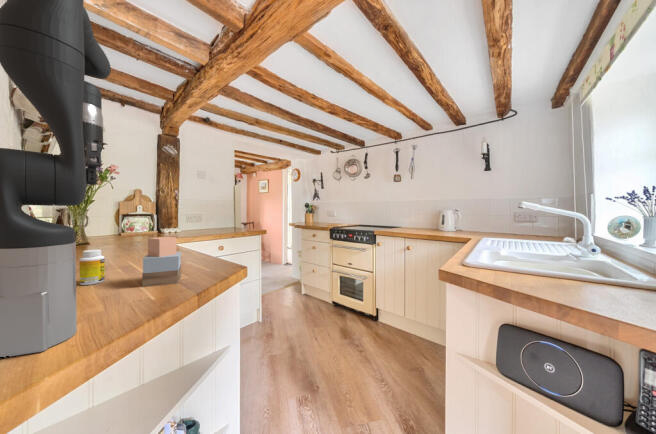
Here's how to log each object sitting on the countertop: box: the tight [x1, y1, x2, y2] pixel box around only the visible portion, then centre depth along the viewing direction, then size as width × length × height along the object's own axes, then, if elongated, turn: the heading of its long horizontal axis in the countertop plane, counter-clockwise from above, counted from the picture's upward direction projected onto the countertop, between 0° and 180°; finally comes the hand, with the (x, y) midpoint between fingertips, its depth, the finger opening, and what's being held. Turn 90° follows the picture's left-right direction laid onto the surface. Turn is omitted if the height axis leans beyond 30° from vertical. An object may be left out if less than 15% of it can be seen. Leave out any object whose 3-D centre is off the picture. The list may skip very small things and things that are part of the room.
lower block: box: [141, 264, 182, 288], centre depth 76 cm, size 9×9×4 cm
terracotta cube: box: [147, 236, 178, 257], centre depth 75 cm, size 6×6×6 cm
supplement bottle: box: [78, 249, 106, 286], centre depth 72 cm, size 6×6×10 cm
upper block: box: [142, 250, 182, 273], centre depth 76 cm, size 9×9×4 cm
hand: (83, 185), depth 61 cm, fingers open, 8 cm apart
